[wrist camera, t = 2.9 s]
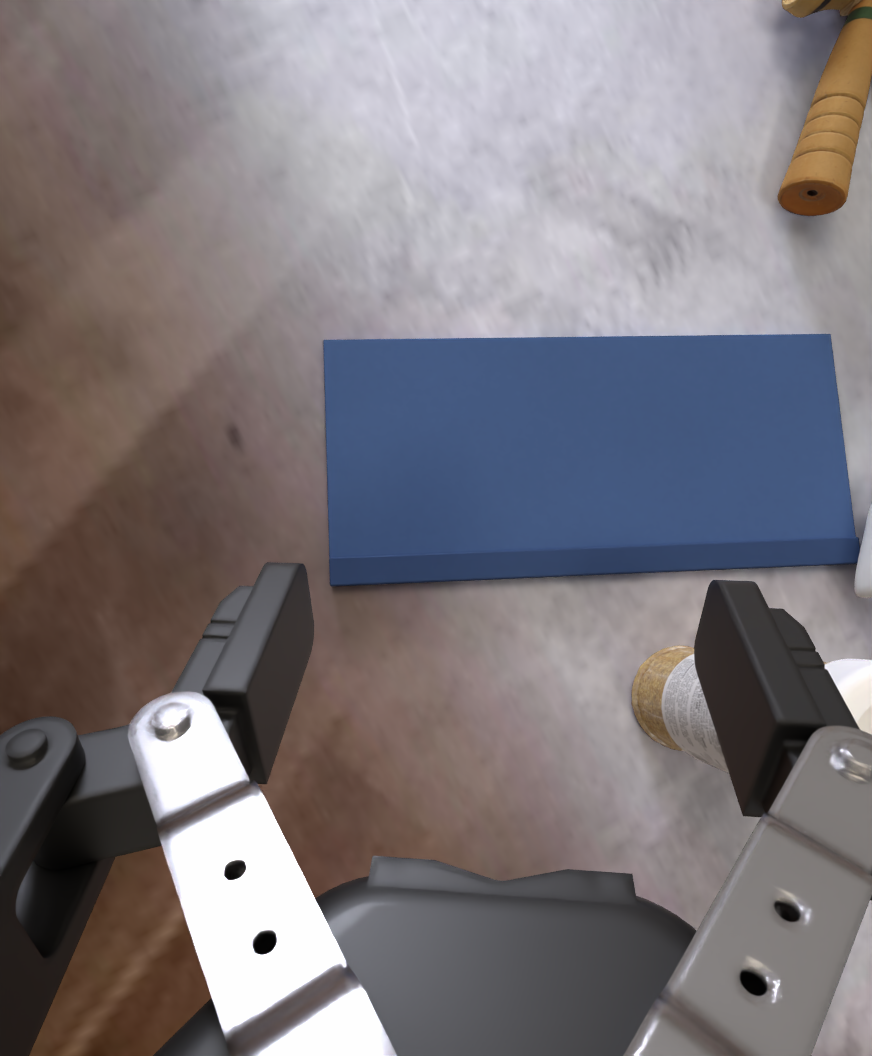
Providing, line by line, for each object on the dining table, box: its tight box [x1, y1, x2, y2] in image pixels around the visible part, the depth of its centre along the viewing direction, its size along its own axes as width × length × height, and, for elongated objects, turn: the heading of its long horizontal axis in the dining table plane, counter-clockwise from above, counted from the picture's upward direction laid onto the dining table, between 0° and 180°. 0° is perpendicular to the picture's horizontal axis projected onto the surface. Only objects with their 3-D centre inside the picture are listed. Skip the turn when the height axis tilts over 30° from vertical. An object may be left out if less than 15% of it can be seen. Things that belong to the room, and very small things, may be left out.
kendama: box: [778, 0, 872, 216], centre depth 33 cm, size 8×6×18 cm
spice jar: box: [632, 646, 872, 773], centre depth 24 cm, size 5×5×13 cm
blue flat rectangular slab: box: [324, 334, 860, 586], centre depth 31 cm, size 24×11×1 cm, turn 93°
